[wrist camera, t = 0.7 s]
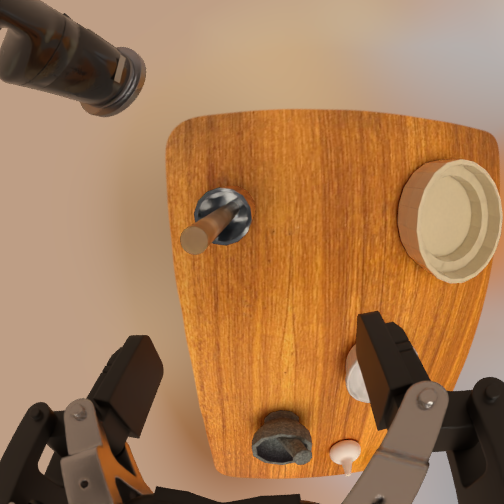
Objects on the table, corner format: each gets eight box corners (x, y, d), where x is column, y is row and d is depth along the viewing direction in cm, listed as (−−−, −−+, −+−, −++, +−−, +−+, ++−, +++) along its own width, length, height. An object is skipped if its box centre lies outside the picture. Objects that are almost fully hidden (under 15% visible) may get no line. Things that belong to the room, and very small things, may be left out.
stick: (222, 204, 33) (175, 231, 17) (236, 199, 33) (202, 222, 17) (227, 218, 34) (186, 258, 17) (241, 213, 34) (212, 250, 17)
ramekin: (332, 339, 38) (339, 361, 33) (403, 312, 36) (417, 330, 31) (346, 390, 40) (353, 412, 35) (408, 366, 38) (420, 386, 33)
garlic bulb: (345, 455, 45) (351, 484, 38) (322, 451, 45) (326, 481, 37) (364, 440, 44) (372, 469, 36) (341, 435, 43) (348, 466, 36)
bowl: (383, 173, 31) (404, 174, 26) (466, 152, 29) (492, 151, 23) (405, 282, 35) (425, 300, 29) (481, 250, 33) (504, 261, 27)
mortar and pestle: (287, 441, 44) (288, 491, 33) (244, 426, 44) (238, 479, 32) (324, 409, 41) (334, 463, 30) (279, 391, 41) (280, 449, 29)
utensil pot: (202, 195, 34) (186, 199, 27) (247, 179, 33) (240, 179, 26) (218, 237, 35) (205, 252, 28) (262, 223, 34) (259, 234, 27)
